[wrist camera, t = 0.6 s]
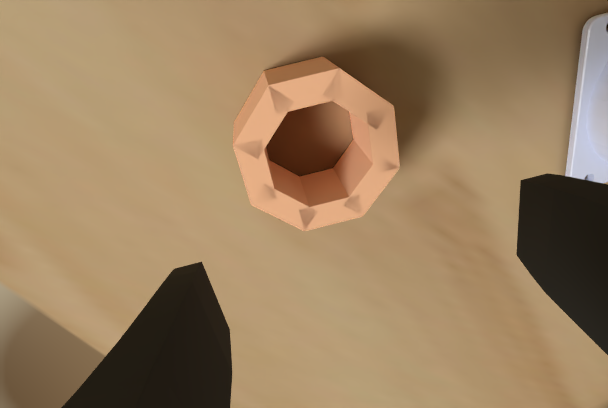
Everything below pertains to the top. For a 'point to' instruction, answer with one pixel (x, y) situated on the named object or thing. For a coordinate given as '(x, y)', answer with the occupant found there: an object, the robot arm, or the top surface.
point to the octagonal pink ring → (325, 184)
